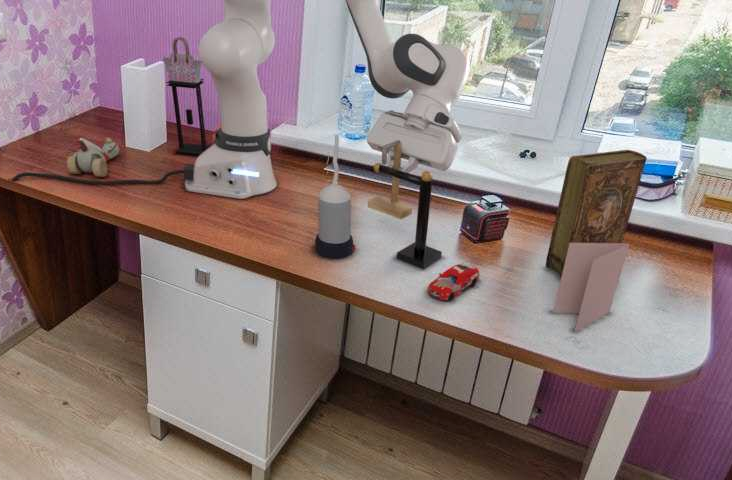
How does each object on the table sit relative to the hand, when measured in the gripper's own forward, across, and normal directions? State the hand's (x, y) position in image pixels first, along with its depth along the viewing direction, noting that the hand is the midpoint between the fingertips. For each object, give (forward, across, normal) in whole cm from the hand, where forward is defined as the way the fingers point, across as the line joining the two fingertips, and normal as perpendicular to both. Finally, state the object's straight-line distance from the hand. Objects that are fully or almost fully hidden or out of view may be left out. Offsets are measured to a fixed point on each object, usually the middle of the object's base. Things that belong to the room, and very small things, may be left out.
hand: (394, 175), depth 135 cm
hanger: (+7, 0, +4) cm, 8 cm away
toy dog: (+24, -82, -1) cm, 85 cm away
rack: (+12, +4, +10) cm, 16 cm away
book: (-2, +38, +25) cm, 45 cm away
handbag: (+6, -75, +17) cm, 77 cm away
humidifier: (+19, -7, +3) cm, 21 cm away
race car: (+17, +21, +6) cm, 28 cm away
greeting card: (+12, +47, +11) cm, 50 cm away
